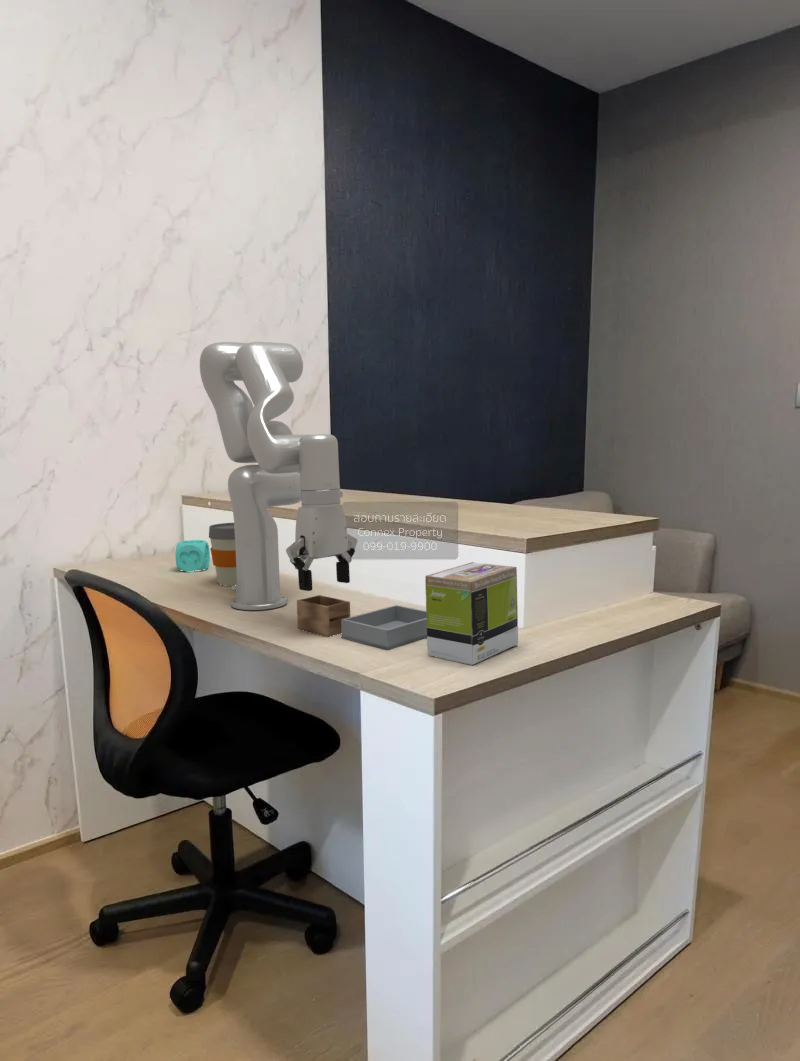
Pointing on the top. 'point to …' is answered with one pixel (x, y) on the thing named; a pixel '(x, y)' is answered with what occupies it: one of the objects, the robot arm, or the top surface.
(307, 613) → the small crate
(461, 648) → the tea box
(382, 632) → the grey tray
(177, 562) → the decorative dice
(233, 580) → the reusable coffee cup
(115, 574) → the top surface
